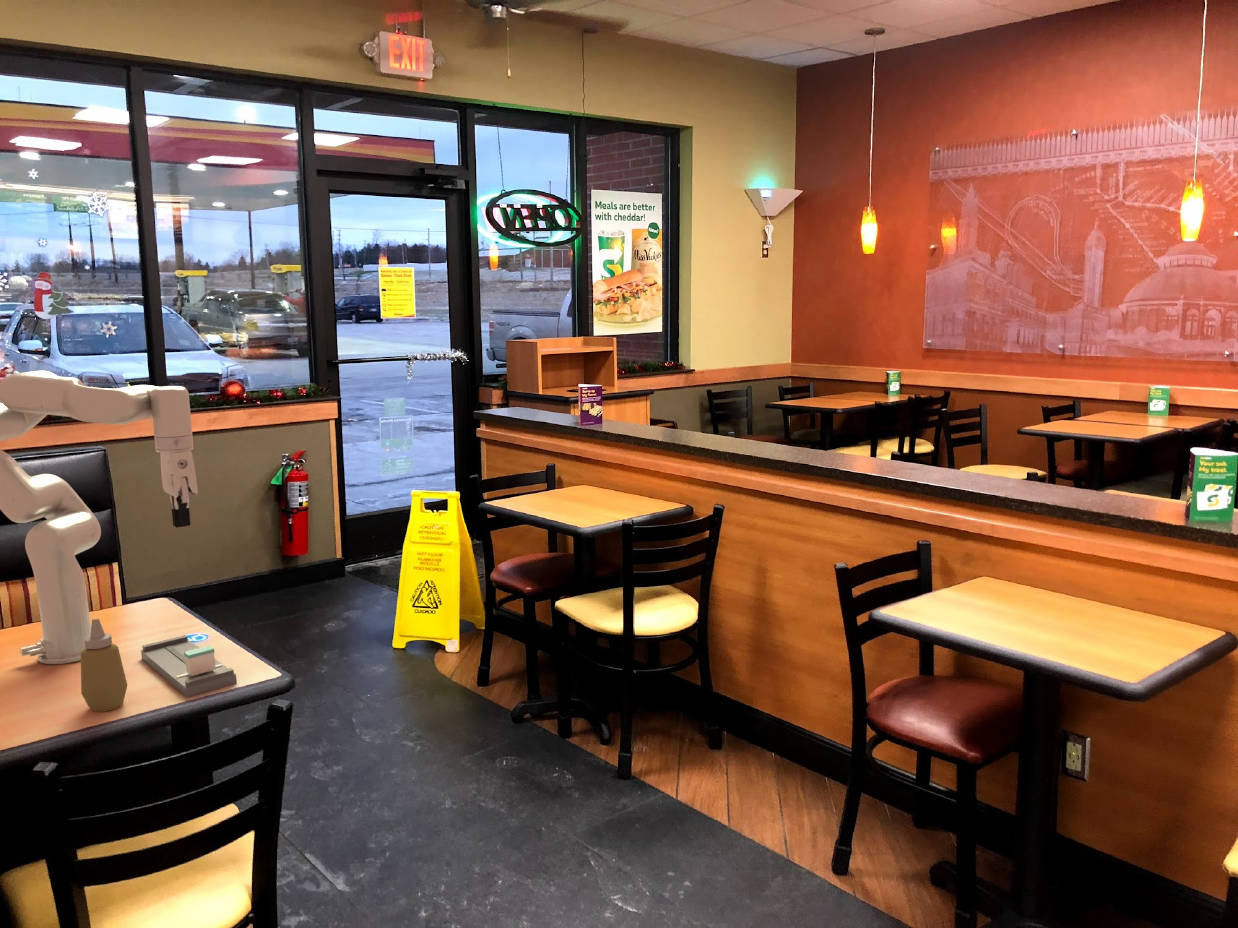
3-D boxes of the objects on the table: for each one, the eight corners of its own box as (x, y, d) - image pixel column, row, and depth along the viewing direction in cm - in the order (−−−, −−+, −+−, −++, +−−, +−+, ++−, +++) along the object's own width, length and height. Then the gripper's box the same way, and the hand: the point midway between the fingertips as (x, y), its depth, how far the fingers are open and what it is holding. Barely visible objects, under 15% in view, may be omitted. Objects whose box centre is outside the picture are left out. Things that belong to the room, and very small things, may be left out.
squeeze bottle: (83, 718, 187) (71, 629, 184) (84, 703, 195) (72, 617, 191) (130, 709, 191) (119, 621, 188) (129, 694, 198) (118, 610, 195)
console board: (186, 697, 196) (185, 683, 196) (141, 658, 218) (140, 645, 218) (236, 682, 203) (235, 669, 202) (188, 647, 225) (186, 634, 224)
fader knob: (190, 676, 200) (188, 655, 200) (186, 672, 202) (183, 652, 202) (216, 669, 204) (214, 648, 203) (211, 665, 206) (209, 645, 205)
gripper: (203, 445, 208) (210, 529, 211) (182, 438, 220) (189, 517, 223) (165, 449, 204) (173, 535, 207) (146, 441, 215) (154, 522, 218)
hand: (181, 525), depth 215 cm, fingers closed
